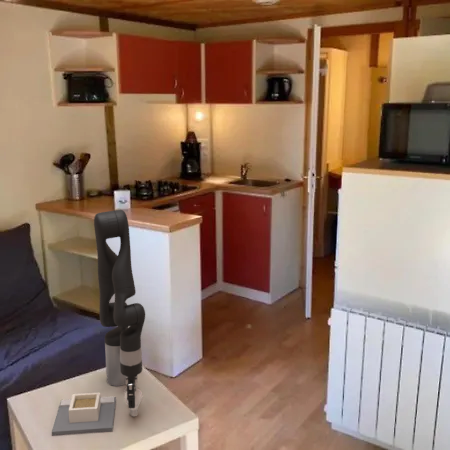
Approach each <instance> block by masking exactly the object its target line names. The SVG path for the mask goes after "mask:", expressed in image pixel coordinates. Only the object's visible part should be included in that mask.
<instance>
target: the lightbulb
mask: <svg viewBox="0 0 450 450" xmlns="http://www.w3.org/2000/svg"><path fill="white" fill-rule="evenodd" d="M134 389H135V387H134ZM129 395H133V394H129ZM123 399H124V401H125V403H126V404H127V405H128V400H127V391H126V392H125V393H124V395H123ZM142 400H143V393H142V390H141V389H140V388H139V387H137V390H136V392H135V408H129V415H130V416H131V417H136V416H138V415H139V414H138V413H139V412H138V409H139V405H140V403H141V402H142Z"/></svg>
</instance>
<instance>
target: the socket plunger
mask: <svg viewBox="0 0 450 450" xmlns="http://www.w3.org/2000/svg"><path fill="white" fill-rule="evenodd" d="M95 402H96V398H95V399H79V400H76V403H75V407H74V408H86V407H95Z"/></svg>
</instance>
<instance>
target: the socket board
mask: <svg viewBox="0 0 450 450" xmlns="http://www.w3.org/2000/svg"><path fill="white" fill-rule="evenodd" d="M95 398H96V402H95V407H86V408H74V407H75V403H76V400H79V399H95ZM116 403H117V397H116V396H115V395H114V396H113V395H112V396H101V393H100V392H88V393H85V392H83V393H73V394H72V395H71V398H65V399H61V400H60V402H59V406H58V408H57V413H56V416H55V420H54V421H53V422H54V423H53V427H52V430H51V436H67V435H69V436H70V435H80V434H82V435H83V434H93V433H94V434H95V433H108V432H110V433H111V432H113V430H114V421H115V411H116V405H117V404H116Z"/></svg>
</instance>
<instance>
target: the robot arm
mask: <svg viewBox="0 0 450 450" xmlns="http://www.w3.org/2000/svg"><path fill="white" fill-rule="evenodd" d="M93 226H94V235H95V244H96V251H97V252H96V253H97V254H96V255H97V277H98V278H97V279H98V280H97V281H98V289H99V321H100V325H101V326H102V327H104V328H111V327H113V328H114V327H115V328H114V329H111V330H109V331H107V332H106V333H105V335H104V349H105V352H104V353H105V369H106V370H105V372H106V373H105V374H106V382H107V384H108V385H110V386H114V387H119V386H124V385H126V387H125V389H126V391H127V400H128V404H127V406H128V409H130V408H135V392H136V390H137V388H138V386H137V383H138V378H139V377H138V375H140V374H142V372H143V352H142V351H143V350H142V341H141V337H142V336H141V335H142V331H143V327H144V324H145V320H146V310H145V308H144V305H143V304H141V303H138V302H137V303H135V302H134V303H131V304H127V302H126V301H127V300H128V299H130V298H132V297H134V296H135V295H136V291H137V290H136V285H135V280H134V275H133V268H132V253H131V252H132V250H131V240H130V239H131V237H130V228H129V227H130V226H129V220H128V217H127V214H126V212H125V211H124V210H123V209H115V210H109V211H102V212H97V213H96V214H95V215H94V219H93ZM114 238H119V239H120V247H119V250H118V254H117V253H116V252H114V251H113V249H111V247H110V246H109V244H108V243H107V240H109V239H114ZM113 296H114V302H111V300H112V298H113ZM134 387H135V389H134ZM129 394H133V395H129Z"/></svg>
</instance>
